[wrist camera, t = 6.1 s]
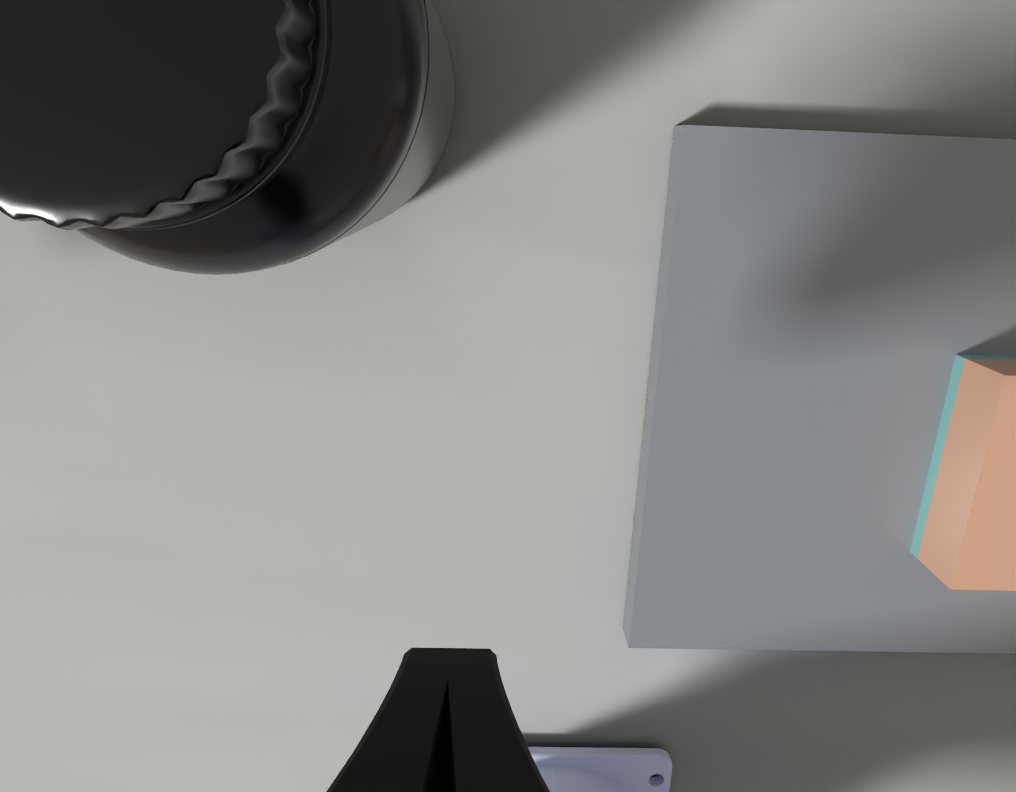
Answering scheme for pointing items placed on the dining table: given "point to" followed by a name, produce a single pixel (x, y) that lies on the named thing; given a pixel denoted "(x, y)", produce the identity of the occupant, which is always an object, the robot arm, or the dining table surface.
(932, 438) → the slate board
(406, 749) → the robot arm
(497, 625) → the dining table surface
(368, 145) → the supplement bottle
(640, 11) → the dining table surface
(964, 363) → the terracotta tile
